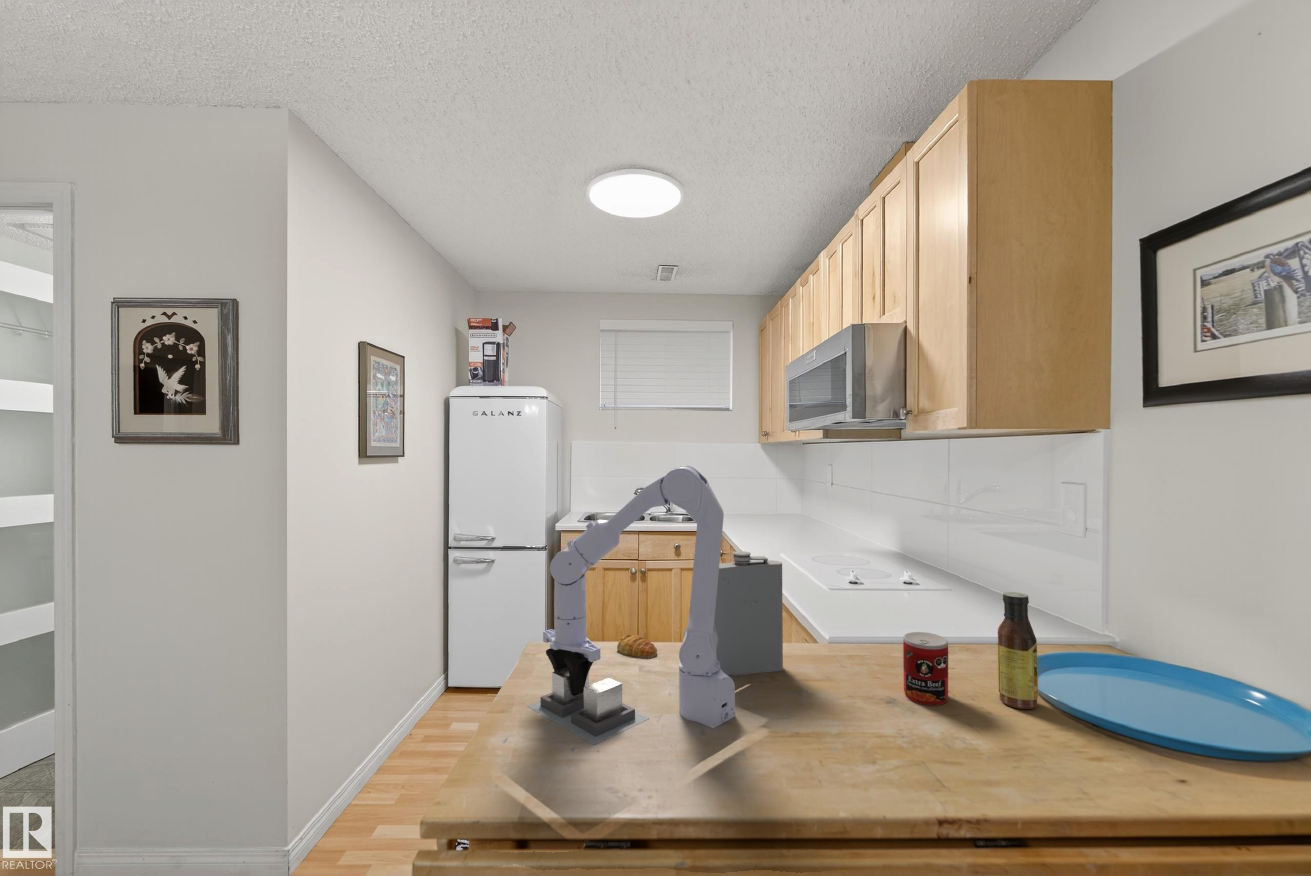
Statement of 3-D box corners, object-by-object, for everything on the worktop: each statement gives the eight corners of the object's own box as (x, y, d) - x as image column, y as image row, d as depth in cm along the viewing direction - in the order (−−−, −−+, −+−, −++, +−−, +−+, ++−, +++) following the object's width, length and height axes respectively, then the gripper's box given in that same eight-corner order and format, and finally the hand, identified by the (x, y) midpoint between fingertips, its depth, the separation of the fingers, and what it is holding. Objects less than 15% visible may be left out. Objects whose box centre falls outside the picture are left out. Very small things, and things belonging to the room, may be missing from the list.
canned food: (901, 701, 109) (901, 641, 109) (905, 684, 116) (905, 629, 116) (947, 709, 106) (947, 648, 106) (949, 692, 113) (948, 635, 113)
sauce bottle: (1044, 712, 104) (1043, 600, 104) (1005, 709, 106) (1005, 598, 105) (1028, 696, 111) (1028, 590, 111) (992, 693, 112) (992, 589, 112)
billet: (622, 718, 101) (622, 683, 101) (597, 729, 97) (597, 693, 97) (608, 711, 103) (608, 677, 103) (584, 722, 99) (583, 687, 99)
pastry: (664, 655, 134) (663, 638, 133) (644, 664, 128) (644, 646, 128) (633, 645, 140) (633, 629, 139) (613, 654, 134) (613, 637, 134)
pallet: (649, 725, 101) (649, 708, 101) (594, 752, 92) (594, 734, 92) (580, 691, 114) (580, 677, 114) (527, 712, 106) (527, 696, 106)
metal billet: (588, 701, 107) (588, 668, 107) (564, 712, 103) (563, 677, 103) (577, 695, 109) (576, 663, 109) (552, 705, 106) (552, 672, 106)
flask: (775, 662, 128) (774, 547, 128) (785, 670, 124) (784, 551, 124) (700, 671, 123) (699, 552, 123) (708, 680, 119) (707, 556, 119)
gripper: (529, 611, 109) (529, 685, 109) (577, 629, 98) (577, 710, 98) (560, 603, 114) (560, 673, 114) (609, 619, 103) (609, 697, 103)
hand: (570, 690), depth 106 cm, fingers closed on metal billet, 3 cm apart
